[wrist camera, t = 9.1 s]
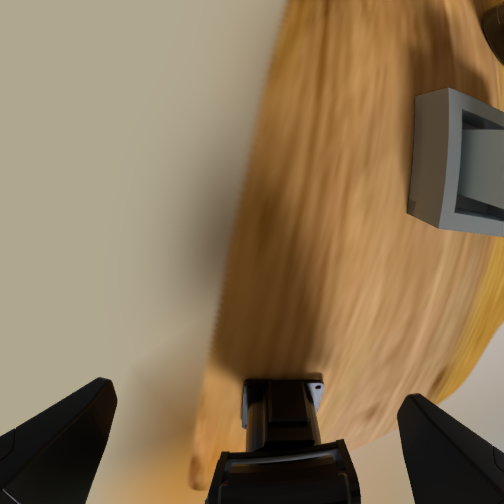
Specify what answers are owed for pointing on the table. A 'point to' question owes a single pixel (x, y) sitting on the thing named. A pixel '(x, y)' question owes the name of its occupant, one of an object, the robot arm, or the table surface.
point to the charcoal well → (449, 162)
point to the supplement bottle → (495, 29)
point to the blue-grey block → (482, 166)
